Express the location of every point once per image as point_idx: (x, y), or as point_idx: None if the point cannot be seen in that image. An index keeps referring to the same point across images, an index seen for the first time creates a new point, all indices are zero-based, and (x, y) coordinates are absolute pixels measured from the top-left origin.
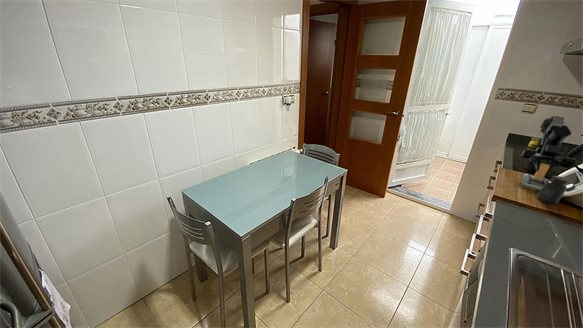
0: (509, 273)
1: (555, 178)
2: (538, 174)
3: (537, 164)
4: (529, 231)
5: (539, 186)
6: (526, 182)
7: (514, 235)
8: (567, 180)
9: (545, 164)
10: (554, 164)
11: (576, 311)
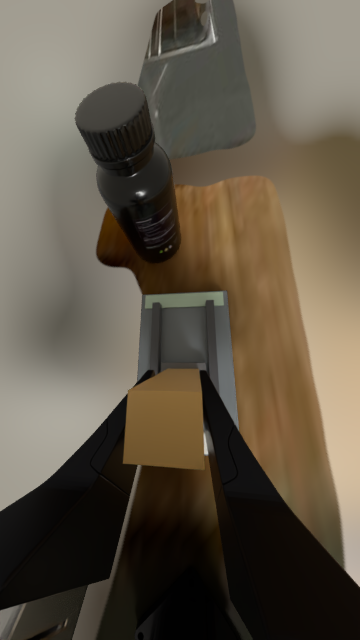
0: (210, 10)
1: (136, 85)
2: (188, 372)
3: (230, 421)
4: (194, 91)
5: (174, 317)
6: (218, 321)
7: (214, 66)
8: (79, 105)
9: (163, 436)
10: (69, 476)
11: (155, 19)
